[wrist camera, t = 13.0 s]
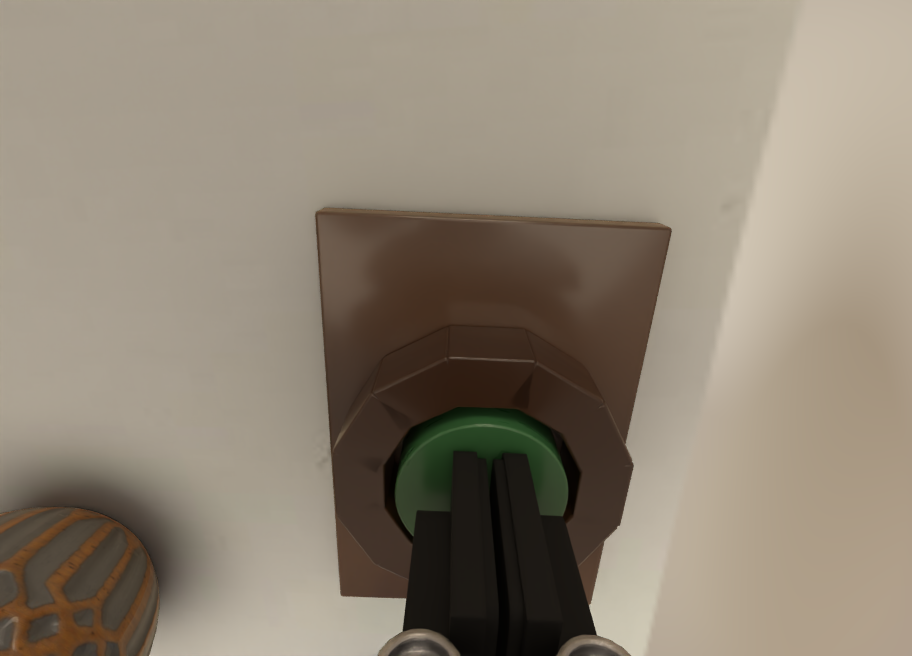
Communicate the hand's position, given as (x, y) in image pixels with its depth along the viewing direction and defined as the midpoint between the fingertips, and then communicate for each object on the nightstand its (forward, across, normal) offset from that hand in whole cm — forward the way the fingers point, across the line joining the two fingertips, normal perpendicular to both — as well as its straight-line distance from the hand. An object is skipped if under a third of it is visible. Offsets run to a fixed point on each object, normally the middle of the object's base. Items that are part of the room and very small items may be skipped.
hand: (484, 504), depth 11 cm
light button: (+2, 0, 0) cm, 2 cm away
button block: (+3, 0, 0) cm, 3 cm away
